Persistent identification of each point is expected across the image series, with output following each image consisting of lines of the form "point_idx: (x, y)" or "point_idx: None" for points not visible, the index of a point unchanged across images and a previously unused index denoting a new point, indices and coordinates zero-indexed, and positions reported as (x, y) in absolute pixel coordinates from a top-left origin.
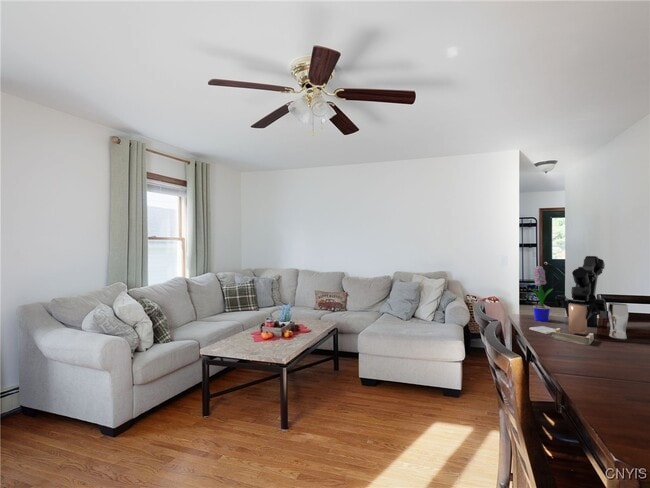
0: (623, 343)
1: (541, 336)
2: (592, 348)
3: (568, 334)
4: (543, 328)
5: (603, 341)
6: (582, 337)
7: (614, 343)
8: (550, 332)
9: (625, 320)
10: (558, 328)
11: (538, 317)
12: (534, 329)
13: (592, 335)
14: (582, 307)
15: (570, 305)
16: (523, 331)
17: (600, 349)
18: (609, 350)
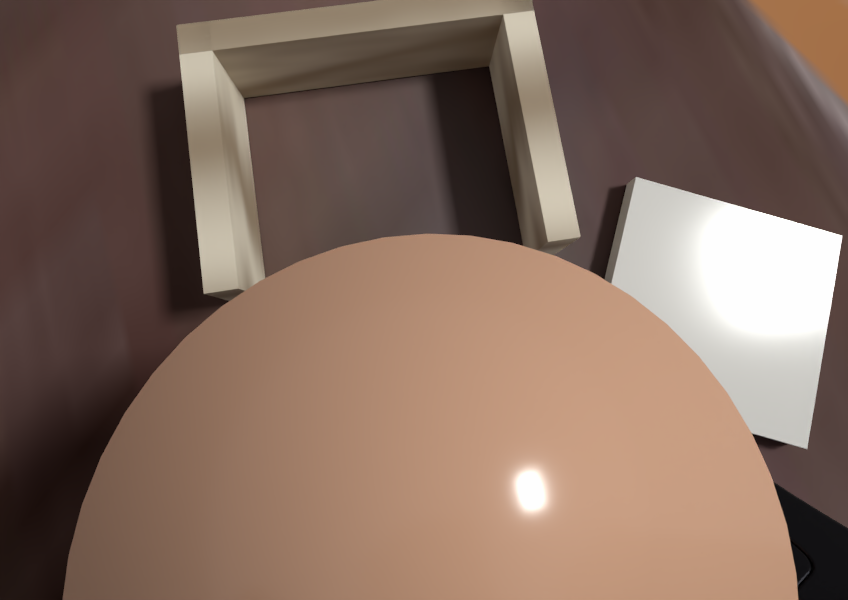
0: (4, 422)
1: (605, 53)
2: (165, 3)
3: (372, 18)
4: (737, 320)
5: (161, 339)
6: (237, 22)
7: (68, 345)
8: (618, 238)
9: None
10: (560, 216)
11: None
12: (773, 218)
13: (202, 228)
14: (178, 363)
15: (646, 365)
16: (801, 102)
17: (110, 23)
18: (49, 50)
